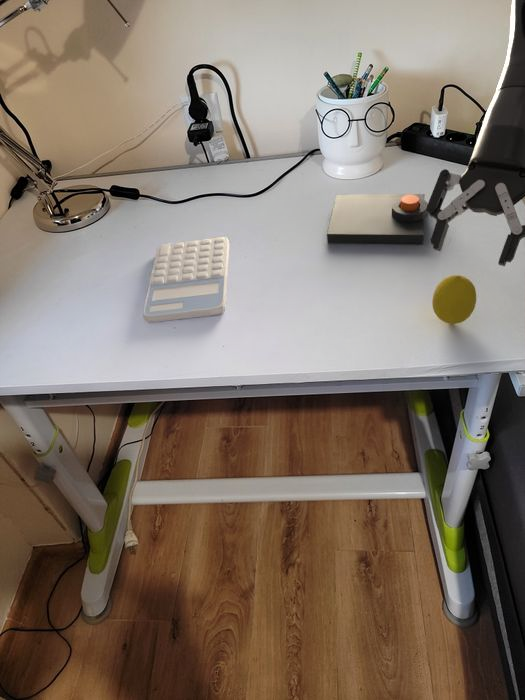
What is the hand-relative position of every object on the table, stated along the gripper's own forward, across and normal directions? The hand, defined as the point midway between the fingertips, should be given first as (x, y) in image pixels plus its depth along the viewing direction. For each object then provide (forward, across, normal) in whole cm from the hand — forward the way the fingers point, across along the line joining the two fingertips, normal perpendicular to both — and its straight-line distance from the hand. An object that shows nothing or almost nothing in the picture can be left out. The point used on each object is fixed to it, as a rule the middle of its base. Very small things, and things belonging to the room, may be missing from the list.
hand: (468, 257), depth 68 cm
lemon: (+9, 0, +4) cm, 10 cm away
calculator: (+14, -42, -2) cm, 44 cm away
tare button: (-8, -15, +16) cm, 23 cm away
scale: (-5, -20, +17) cm, 27 cm away
